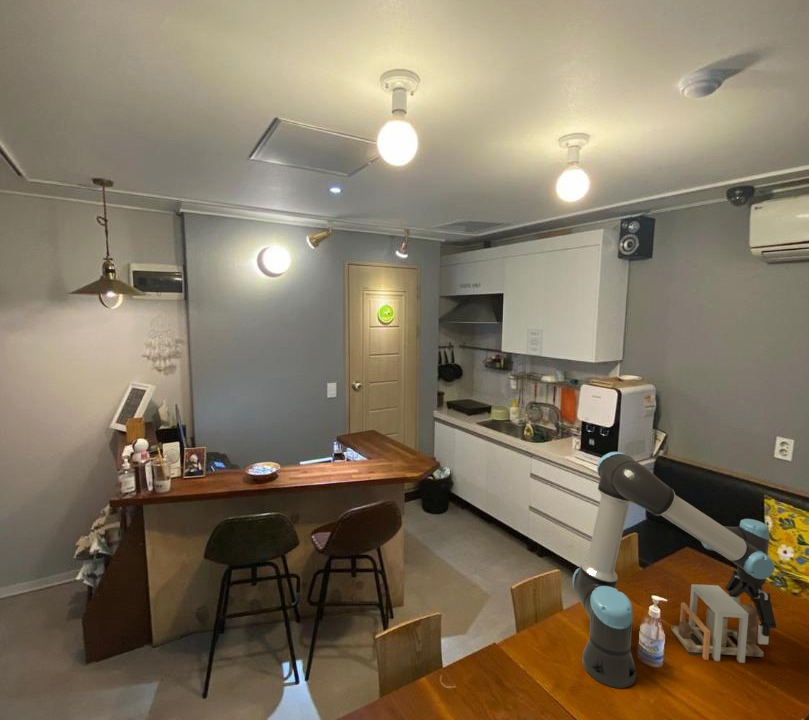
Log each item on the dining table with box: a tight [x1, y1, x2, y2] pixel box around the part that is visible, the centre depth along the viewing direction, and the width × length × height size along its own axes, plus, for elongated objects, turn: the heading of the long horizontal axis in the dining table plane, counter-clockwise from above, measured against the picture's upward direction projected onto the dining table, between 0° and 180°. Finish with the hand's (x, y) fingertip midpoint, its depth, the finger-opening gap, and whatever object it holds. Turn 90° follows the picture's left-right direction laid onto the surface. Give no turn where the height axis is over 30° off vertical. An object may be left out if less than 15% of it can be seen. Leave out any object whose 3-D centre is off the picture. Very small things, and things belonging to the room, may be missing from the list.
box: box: [705, 608, 729, 647], centre depth 146 cm, size 5×4×11 cm
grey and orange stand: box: [679, 583, 748, 664], centre depth 146 cm, size 12×15×16 cm
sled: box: [671, 603, 764, 658], centre depth 146 cm, size 23×10×13 cm, turn 85°
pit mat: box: [678, 633, 710, 657], centre depth 147 cm, size 6×11×1 cm, turn 175°
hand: (747, 628), depth 145 cm, fingers open, 13 cm apart
